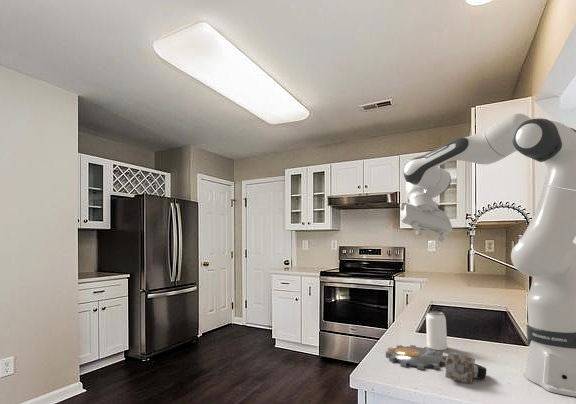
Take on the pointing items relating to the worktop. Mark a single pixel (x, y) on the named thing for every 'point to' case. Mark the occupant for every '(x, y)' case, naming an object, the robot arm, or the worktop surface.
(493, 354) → the worktop surface
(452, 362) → the caster wheel
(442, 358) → the sprocket plate
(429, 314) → the can
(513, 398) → the worktop surface
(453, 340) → the worktop surface
